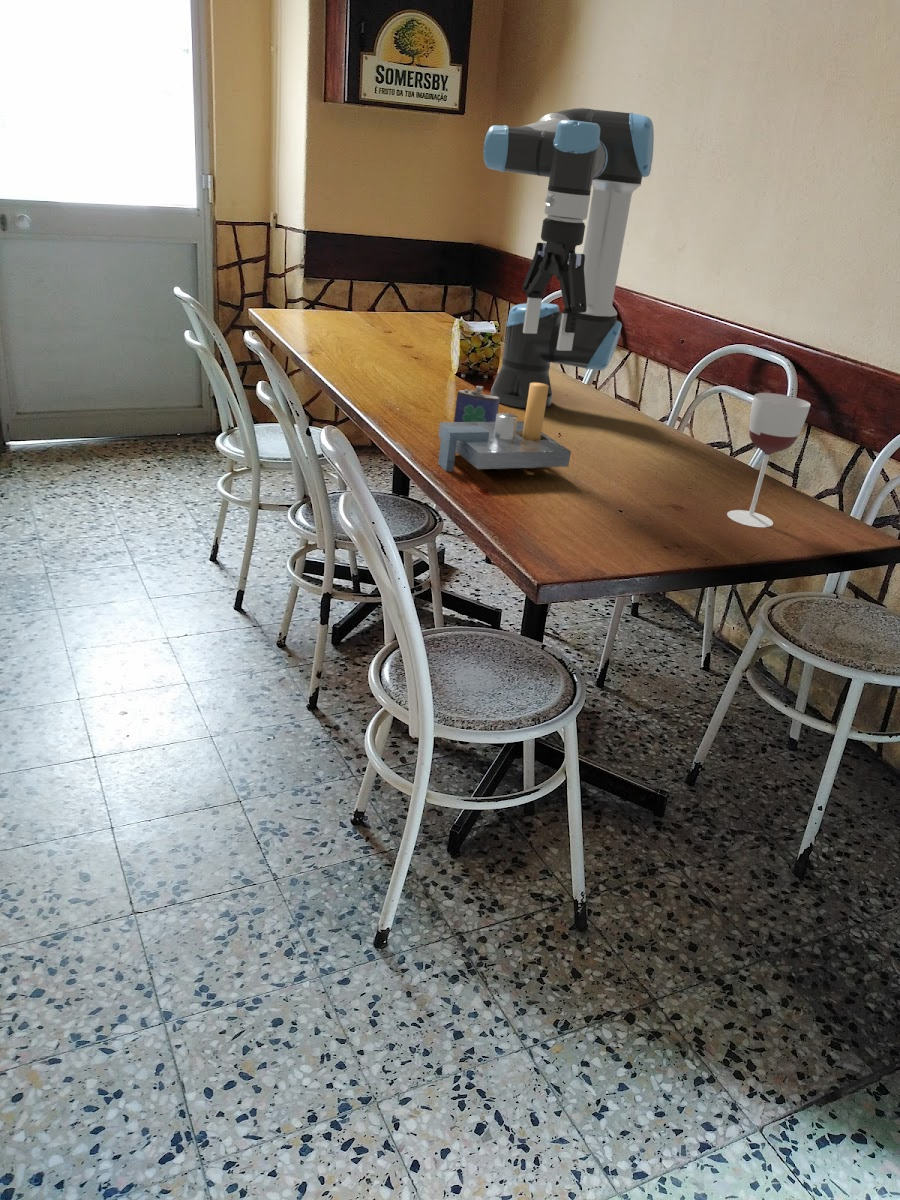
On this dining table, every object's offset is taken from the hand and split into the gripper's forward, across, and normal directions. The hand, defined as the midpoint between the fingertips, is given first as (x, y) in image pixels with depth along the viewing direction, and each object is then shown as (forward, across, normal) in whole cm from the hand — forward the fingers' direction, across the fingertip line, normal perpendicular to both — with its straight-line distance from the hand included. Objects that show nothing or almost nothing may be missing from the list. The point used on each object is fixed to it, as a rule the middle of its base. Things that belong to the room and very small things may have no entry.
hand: (546, 341), depth 172 cm
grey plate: (+24, 0, -8) cm, 25 cm away
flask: (+24, -19, -3) cm, 31 cm away
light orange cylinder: (+24, 0, 0) cm, 24 cm away
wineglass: (+24, +32, +30) cm, 50 cm away
